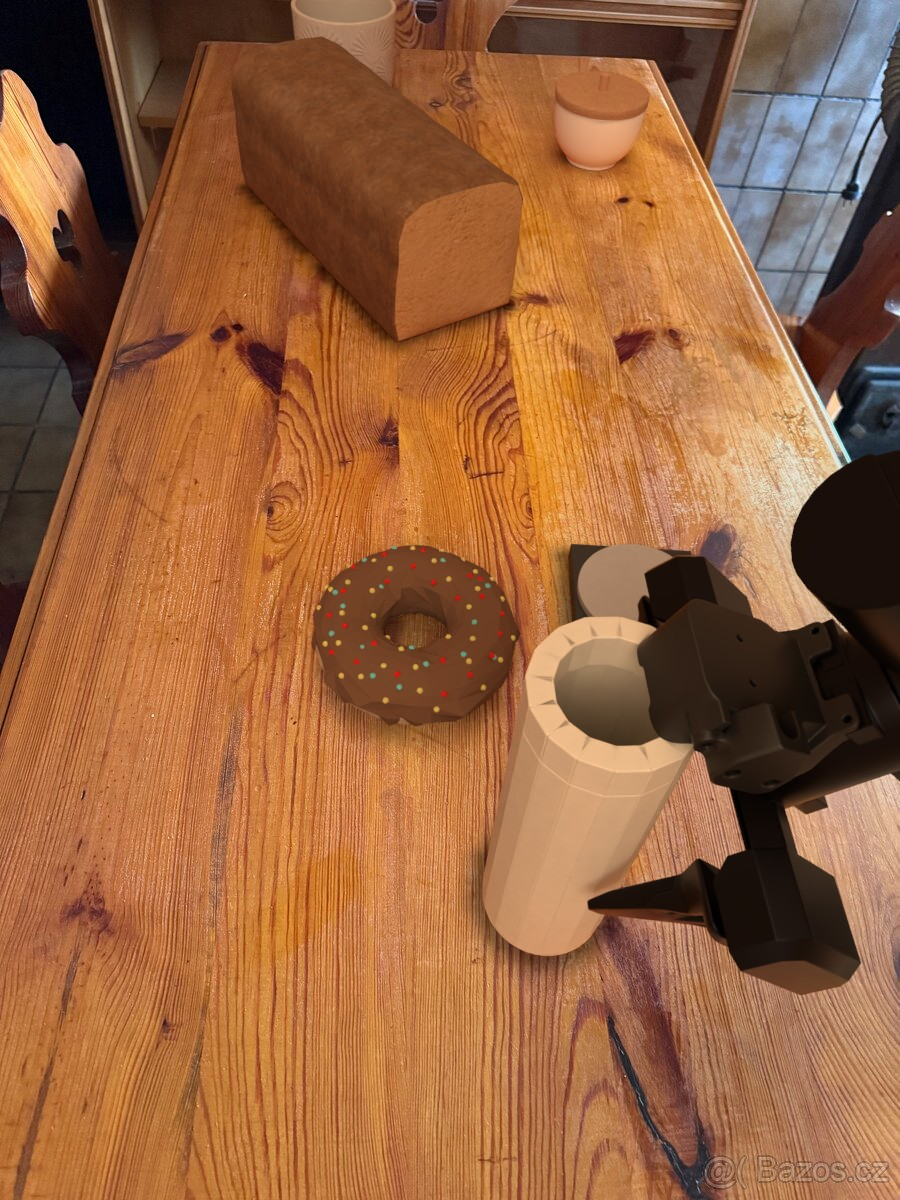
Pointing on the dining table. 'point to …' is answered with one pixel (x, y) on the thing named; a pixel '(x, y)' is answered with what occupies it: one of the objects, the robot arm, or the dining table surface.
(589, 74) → the trinket box
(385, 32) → the planter
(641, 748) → the canister
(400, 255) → the bread
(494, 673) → the donut
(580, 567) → the scale
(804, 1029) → the dining table surface
